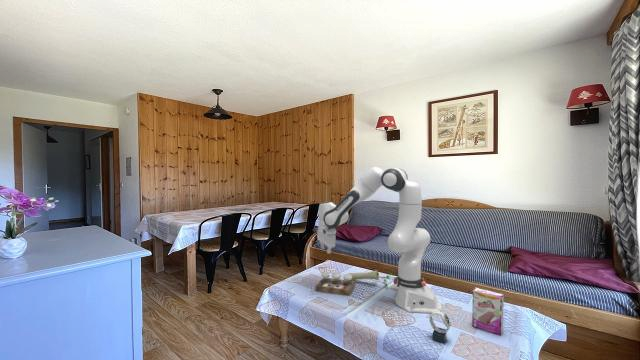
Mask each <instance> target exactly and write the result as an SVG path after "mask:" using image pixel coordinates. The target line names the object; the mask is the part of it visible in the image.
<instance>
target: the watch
mask: <svg viewBox="0 0 640 360" xmlns="http://www.w3.org/2000/svg"><path fill="white" fill-rule="evenodd" d="M430 314H431V315H430V316H429V321H428V322H429V323H430V326H431V328H432V329H433V331H432V341H434V342H437V343H440V344H445V343H446V339H447V334H448V333H447V332H449V330H450V327H451V325H452V324H451V320H450V318H449V315H448V314H447V313H444V312H443V311H442V310H441V311H434V312H433V313H430ZM433 315H439V316H440V318H441V321H442V323H443V325H444V326H445V327H446V328H442V327H438V326H436V323H435V322H434V319H433Z"/></svg>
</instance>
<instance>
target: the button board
mask: <svg viewBox="0 0 640 360" xmlns="http://www.w3.org/2000/svg"><path fill="white" fill-rule="evenodd" d="M355 281H356V280H353V281H349V280H344V279H341V278H340V279H333V278H330V277H327V278H323V277H322V278H321V280H319V282H318V283H317V284H316V286H315V292H320V293H324V294H325V293H326V294H332V295H340V296H346V297H350V295H351V294H352V292H353V291H354V288H355V287H356V285H355V284H356V282H355Z"/></svg>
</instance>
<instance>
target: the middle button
mask: <svg viewBox="0 0 640 360" xmlns="http://www.w3.org/2000/svg"><path fill="white" fill-rule="evenodd" d="M331 277H332V279H340V280H341V277H342V275H341V273H340V272H333V273H331Z"/></svg>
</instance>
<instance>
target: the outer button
mask: <svg viewBox="0 0 640 360" xmlns="http://www.w3.org/2000/svg"><path fill="white" fill-rule="evenodd" d="M320 274H321V275H320V276H321V278H322V279H323V278H330V271H325V270H324V271H322V272H320Z"/></svg>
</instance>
